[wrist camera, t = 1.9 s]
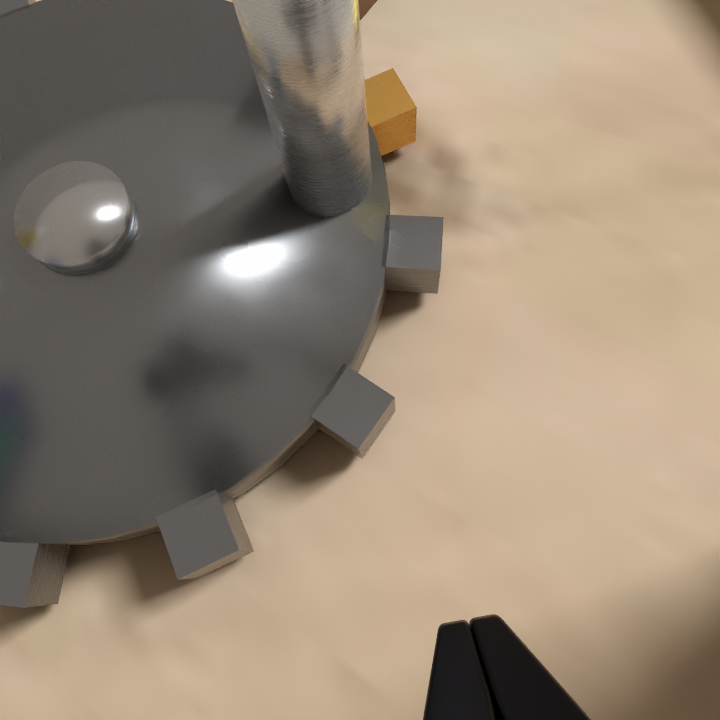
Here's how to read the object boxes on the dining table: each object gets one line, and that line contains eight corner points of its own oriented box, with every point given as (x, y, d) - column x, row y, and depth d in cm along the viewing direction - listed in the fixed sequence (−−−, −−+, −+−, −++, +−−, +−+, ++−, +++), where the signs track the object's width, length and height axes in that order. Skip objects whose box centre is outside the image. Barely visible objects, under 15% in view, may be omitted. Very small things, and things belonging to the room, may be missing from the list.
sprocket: (-248, 660, 21) (-1078, 786, 9) (-181, 55, 29) (-586, -298, 17) (506, 521, 21) (642, 469, 9) (369, -50, 29) (347, -478, 17)
